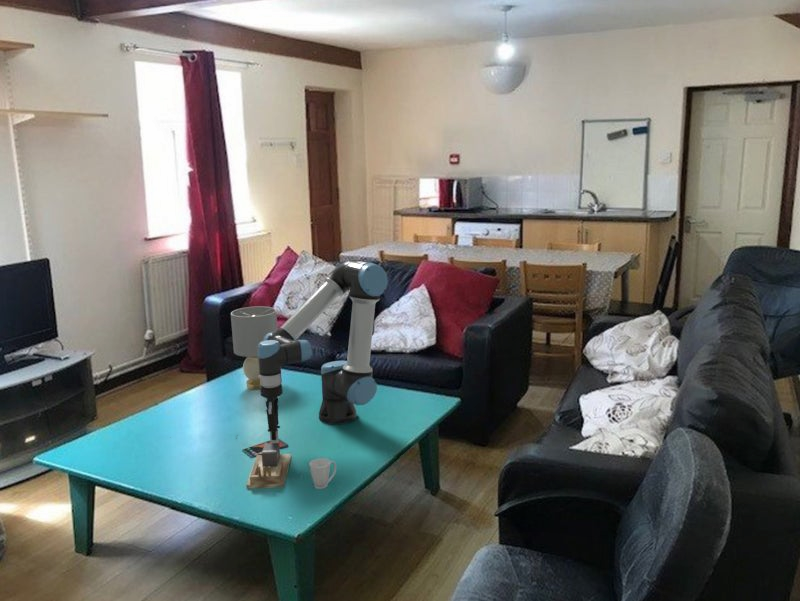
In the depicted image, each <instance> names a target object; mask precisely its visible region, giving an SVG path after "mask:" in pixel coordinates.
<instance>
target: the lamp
mask: <svg viewBox="0 0 800 601" xmlns="http://www.w3.org/2000/svg"><path fill="white" fill-rule="evenodd" d="M277 315H278V314H277V309H276V308H274V307H272V306H271V307H270V306H248V307H241V308H237V309H234V310H232V311H231V312H230V321H231V333H232V345H233V347H232V348H233V353H234V354H235V355H236V356H239V357H246V358H245V360H244V362H243V364H242V371H243V375H244V376H245V378H247V380H246V388H247V389H248V390H250V391H260V386H261V385H260V378H258V376H260V374H259V362H258V344H259V343H260V342H262V341H263V339H264V337H265V336H266V335H267V334H269V333H272V332H276V331H277V330H278V317H277Z"/></svg>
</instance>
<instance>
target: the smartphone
mask: <svg viewBox="0 0 800 601" xmlns="http://www.w3.org/2000/svg"><path fill="white" fill-rule="evenodd" d="M265 443H271V442H270V440H267V441H264V442H261V443H259V444H255V445H252V446H249V447H246V448H243V449H242V450H241V452H242V453H244V454H246V456H248V457H249V458H251V459H252V458H253V459H254V458H256V456H257V455H262V451H263V448H264V445H265ZM279 446H280V450H282V449H285V448H287V447H289V444H288V443H286V442H285V441H283V440H282V439H280V438H279Z"/></svg>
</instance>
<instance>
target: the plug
mask: <svg viewBox="0 0 800 601" xmlns="http://www.w3.org/2000/svg"><path fill="white" fill-rule="evenodd" d="M280 454H281V449H280V446H279V443H265V445H264V448H263V451H262V466H263V467H264V466H265V467H268V466H270V467H276V466H278V462H279V459H280Z"/></svg>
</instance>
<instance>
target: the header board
mask: <svg viewBox="0 0 800 601" xmlns="http://www.w3.org/2000/svg"><path fill="white" fill-rule="evenodd" d="M291 459H292V453H285V454H284V453H282V454H281V453H280V459H279V462H278V466H276V467H270V466H268V467H265V466H264V467H263V466H262V455H257V456H256V457H255V460H254V462H253V465H252V468H251V470H250V474H249V476H248V479H247V483H246V489H266V488H267V489H269V488H271V489H272V488H284V487H285V483H286V480H287V476H288V471H289V467H290V463H291Z"/></svg>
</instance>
